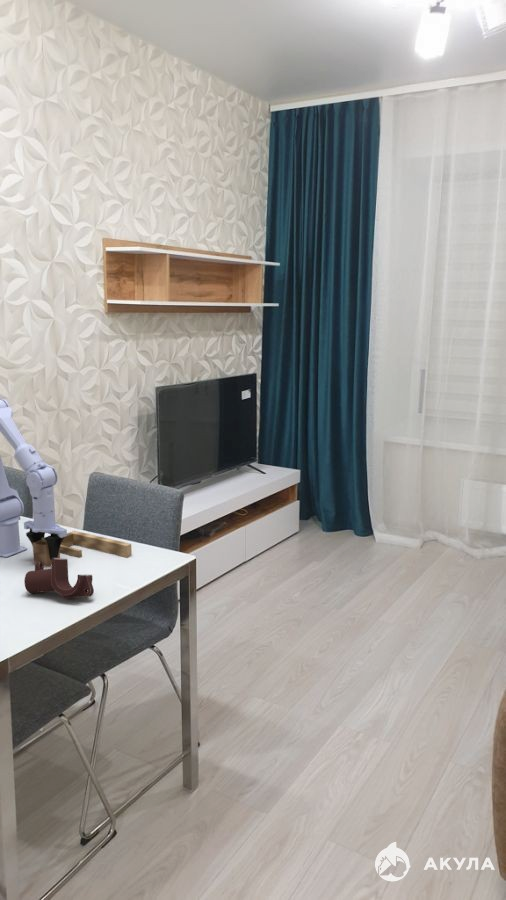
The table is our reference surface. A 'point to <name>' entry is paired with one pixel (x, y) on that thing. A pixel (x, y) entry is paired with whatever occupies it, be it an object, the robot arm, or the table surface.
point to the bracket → (57, 580)
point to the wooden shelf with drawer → (93, 544)
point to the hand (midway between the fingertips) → (46, 557)
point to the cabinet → (42, 552)
